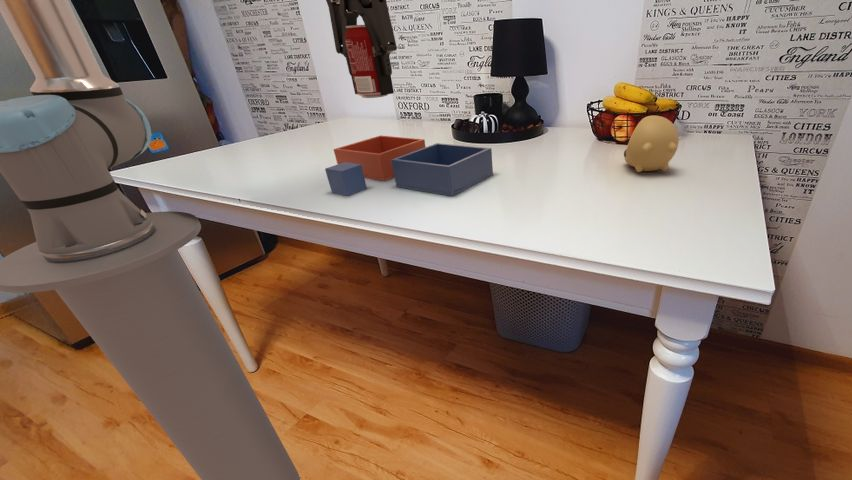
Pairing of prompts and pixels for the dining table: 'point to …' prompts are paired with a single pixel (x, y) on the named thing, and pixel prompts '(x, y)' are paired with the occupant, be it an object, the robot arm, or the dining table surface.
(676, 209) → the dining table surface
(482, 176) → the blue bin
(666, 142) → the toy pig
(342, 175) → the blue block
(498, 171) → the dining table surface
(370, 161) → the red bin
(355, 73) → the soda can
